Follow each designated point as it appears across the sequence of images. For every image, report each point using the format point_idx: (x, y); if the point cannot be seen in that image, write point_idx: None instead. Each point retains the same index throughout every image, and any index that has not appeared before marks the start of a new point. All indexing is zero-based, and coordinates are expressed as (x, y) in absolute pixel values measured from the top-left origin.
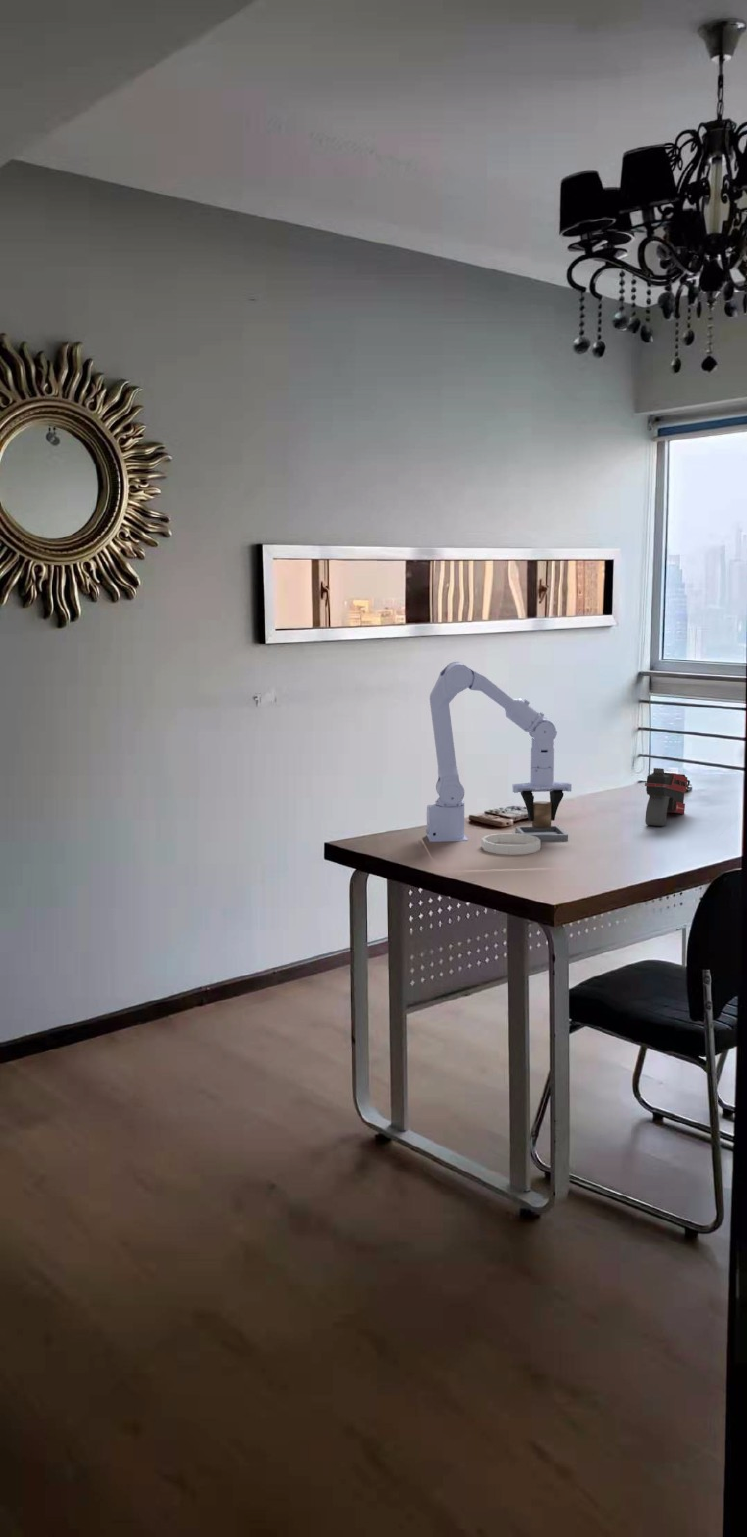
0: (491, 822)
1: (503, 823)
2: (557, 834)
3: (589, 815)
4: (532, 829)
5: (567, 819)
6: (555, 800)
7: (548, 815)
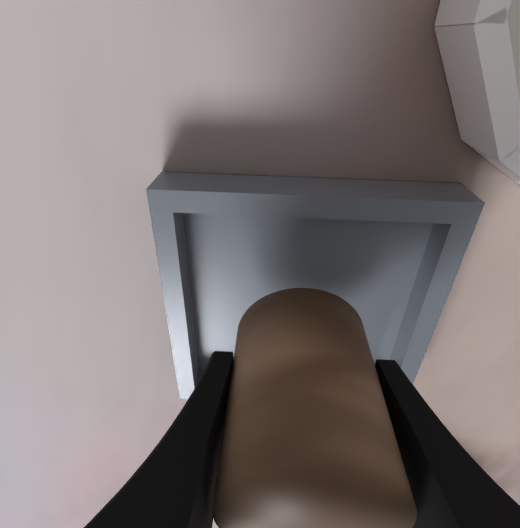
0: None
1: None
2: (222, 208)
3: (55, 521)
4: None
5: None
6: (168, 519)
7: (266, 366)
